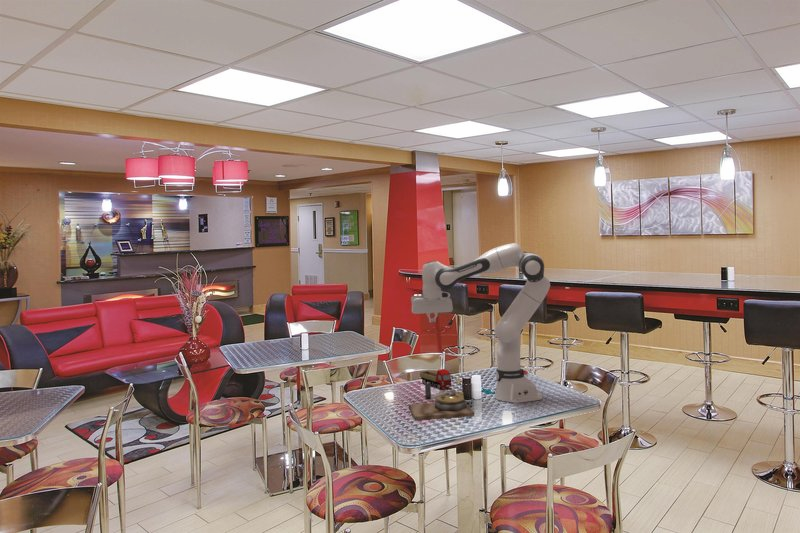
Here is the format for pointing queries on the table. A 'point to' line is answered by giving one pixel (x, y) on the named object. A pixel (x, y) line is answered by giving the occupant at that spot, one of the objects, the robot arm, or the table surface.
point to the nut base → (440, 410)
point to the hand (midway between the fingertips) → (432, 322)
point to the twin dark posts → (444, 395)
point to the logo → (482, 388)
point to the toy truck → (437, 378)
